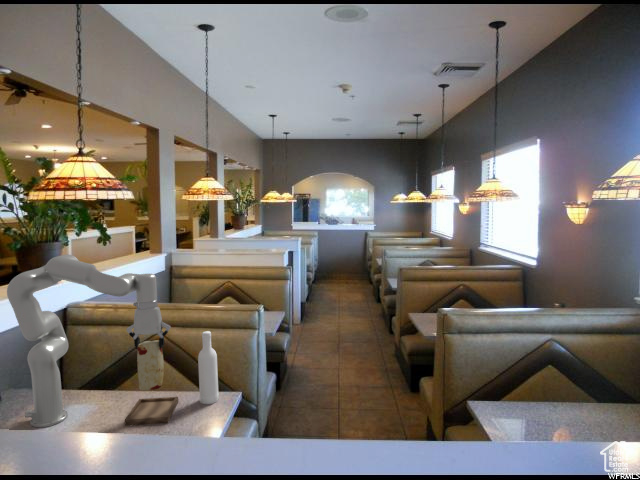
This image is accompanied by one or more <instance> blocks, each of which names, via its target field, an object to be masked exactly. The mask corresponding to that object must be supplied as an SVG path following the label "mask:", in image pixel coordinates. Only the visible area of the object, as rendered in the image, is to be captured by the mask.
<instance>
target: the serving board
mask: <svg viewBox="0 0 640 480" xmlns="http://www.w3.org/2000/svg"><path fill="white" fill-rule="evenodd" d="M178 404H179V396H168V397H167V396H165V397H151V398H150V397H149V398H139V399H138V401H137V402H136V403H135V405H134V406H132V409H131V410H130V411H129V413H128V414H127V416H126V417H125V418H124V427H127V426H128V427H129V426H130V425H132V426H143V425H144V426H147V425H160V424H168V423H169V422H170V420H171V418H172V416H173V414H174V412H175V410H176V408H177V406H178Z"/></svg>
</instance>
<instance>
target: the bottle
mask: <svg viewBox="0 0 640 480" xmlns="http://www.w3.org/2000/svg"><path fill="white" fill-rule="evenodd" d="M201 338H202V340H201V341H202V342H201V343H202V349H201V350H200V351H199V353H198V356H197V361H198V363H197V364H198V366H197V367H198V384H199V403H201V404H202V405H212V404H215V403H218V401H219V397H220V396H219V377H218V376H219V375H218V354H217V352H216V350H215V349H214V348H213V347H212V332H211V331H210V330H207V331H206V330H205V331H203V332H202V333H201Z"/></svg>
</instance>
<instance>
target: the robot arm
mask: <svg viewBox="0 0 640 480" xmlns="http://www.w3.org/2000/svg"><path fill="white" fill-rule="evenodd" d="M156 276H157V275H155V274H154V273H141V274H140V273H129V272H128V273H124V274H121V275H120V276H119V275H118V276H114V275H110V274H107V273H105V272H101V271H100V270H98V269H97V267H96V265H94V263H93V264H92V263H88V262H85V261H80V260H79V259H78V258H77V257H76V256H75V255H72V254H61V255H57V256H54V257H52V258H51V259H49V260H48V261H47V263H46V264H45V265H42V266H41V267H39V268H34V269H31V270H26V271H23V272H21V273H19V274H18V275H16V276H14V277H13V278H12V279H11V280H10V282H9V283H8V285H7V288H6V296H7V299H8V302H9V304H10V306H11V308H12V310H13V312H14V315H15V319H16V320H17V323H18V326H19V329H20V331H21V334H22V336H23V337H24V339H25V340H27V341H30V342H34V341H38V340H41V341H39V342H38V343H36V344H35V345H34V346H32V348H31V349H30V350H29V352H28V353H27V364H28V367H29V370H30V377H31V385H32V398H33V409H27V410H25V411H24V418H31V420H30V421H29V423H30V425H31V427H34V428H45V427H51V426H54V425H56V424H59V423H61V422H63V421H64V420H66V419H67V417H68V415H69V414H68V410H65V409H63V406H64V405H63V395H62V381H61V380H62V379H61V372H60V368H59V366H58V363H57V361H58V360H59V359H61V358H62V357H64V355H66V353H67V352H68V350H69V340H68V338H67V335H66V333H65V329H64V327H63V324H62V321H61V320H60V317H59V316H58V315H57V314H56V313H54V311H50V310H42V307H41V305H40V302H39V301H38V299H37V297H35V296H34V295H33V294H35V293H37V292H39V291H42V290H45V289H47V288H49V287H52V286H53V285H55V284H58V283H60V282H62V281H66V282H70V283H73V284H77V285H82V286H86V287H88V288H89V289H91V290H92V291H95V292H98V293H101V294H104V295H109V296H113V297H117V298H118V297H124V296H127V295H129V294H130V293H133V292H135V293H136V302H133V307H136V308H135V310H134V315H133V324H131V325H130V326H128V327H127V328H126V332H127V333H128V335H129V336H130V337H131V338H132V339H133V340H134V341H133V342H134V347H135V350H138V345H139V344H140V343H141V340H140V339H141V338H140V336H141V335H142V336H143V335H147V336H148V335H158V337H159V338H158V340H159V347H160V348H162V349H163V347H164V346H165V336H166V335H168V334H169V331H170V329H171V328H172V327H171V325H170V324H168V323H166V322H164V321H163V318H162V312H161V309H160V307H159V306H158V292H157V291H158V290H157V289H158V288H157V287H158V286H157V277H156ZM163 328H165V331H163Z"/></svg>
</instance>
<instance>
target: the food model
mask: <svg viewBox="0 0 640 480" xmlns="http://www.w3.org/2000/svg"><path fill="white" fill-rule="evenodd" d="M136 359H137V360H136V363H137V365H136V366H137V378H138V389H139V391H143V392H147V391H148V392H149V391H153V390H154V391H155V390H158V389H161V388H162V385H163V379H164V353H163V347H162V348H160V347H159V339H157V340H152V341H151V340H145V341H142V342H140V344H139V345H138V349H137V357H136Z"/></svg>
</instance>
